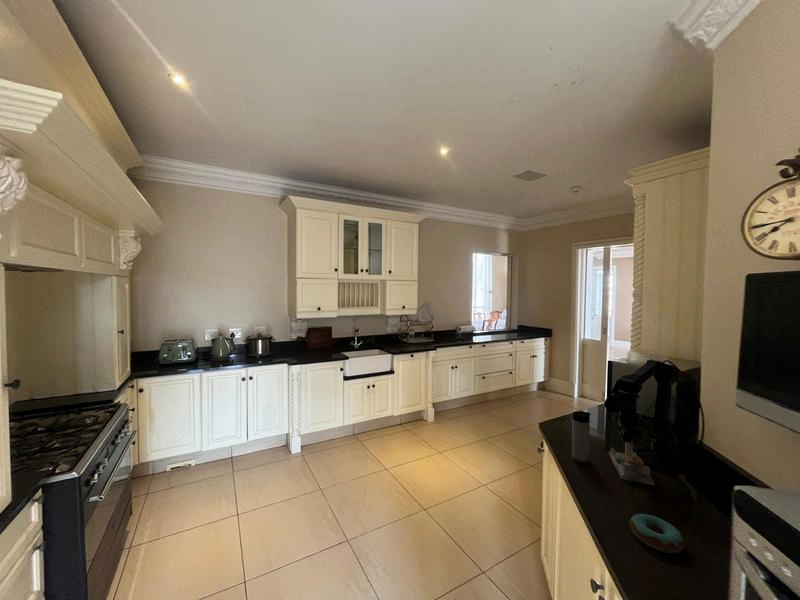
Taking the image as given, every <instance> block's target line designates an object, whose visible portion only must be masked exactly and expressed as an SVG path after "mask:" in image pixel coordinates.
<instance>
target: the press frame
mask: <svg viewBox="0 0 800 600" xmlns="http://www.w3.org/2000/svg"><path fill="white" fill-rule="evenodd" d="M619 453H620V452H617V451H616V450H615V449H614V447H610V450H609V451H608V456H609V458H610V460H611V462H612V464H613V465H614V467H615V469H616V471H617V473H618V475H619V477H620V479H621V480H625V481H630V482H635V483H640V484H645V485H650V486H655V480H654V479H653V477H652V476H651V468H650V466H647V465H644V466H642V465H636V464H631V463H625V462H623V466H622V465H621V463H620V459H619ZM622 453H623V452H622ZM623 454H625V452H624V453H623ZM632 455H634V456H637V457H639V456H638V454H637V453H636V451H632Z"/></svg>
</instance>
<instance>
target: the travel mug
mask: <svg viewBox="0 0 800 600" xmlns="http://www.w3.org/2000/svg"><path fill="white" fill-rule="evenodd" d="M591 415H592V414H591V413H590V412H589V411H583V410H578V411H577V410H576V411H574V412H572V433H571V434H572V435H571V436H572V437H571V439H572V440H571V441H572V442H571V444H572V445H571V459H572V460H574V461H575V462H578V463H579V464H581V463H582V464H588V463H589V462H590V434H591V433H590V432H591V431H590V430H591V429H590V427H591V426H590V425H591V423H590V422H591V420H590V417H591Z"/></svg>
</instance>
